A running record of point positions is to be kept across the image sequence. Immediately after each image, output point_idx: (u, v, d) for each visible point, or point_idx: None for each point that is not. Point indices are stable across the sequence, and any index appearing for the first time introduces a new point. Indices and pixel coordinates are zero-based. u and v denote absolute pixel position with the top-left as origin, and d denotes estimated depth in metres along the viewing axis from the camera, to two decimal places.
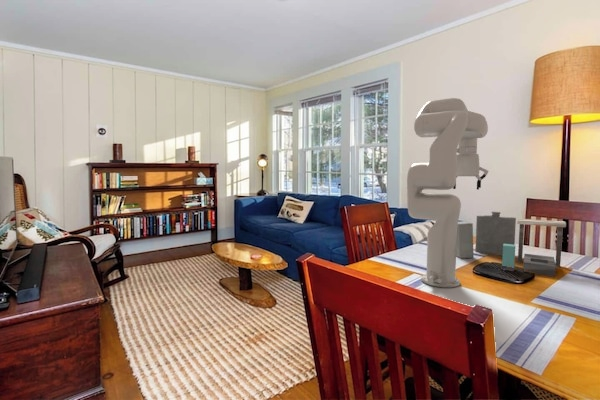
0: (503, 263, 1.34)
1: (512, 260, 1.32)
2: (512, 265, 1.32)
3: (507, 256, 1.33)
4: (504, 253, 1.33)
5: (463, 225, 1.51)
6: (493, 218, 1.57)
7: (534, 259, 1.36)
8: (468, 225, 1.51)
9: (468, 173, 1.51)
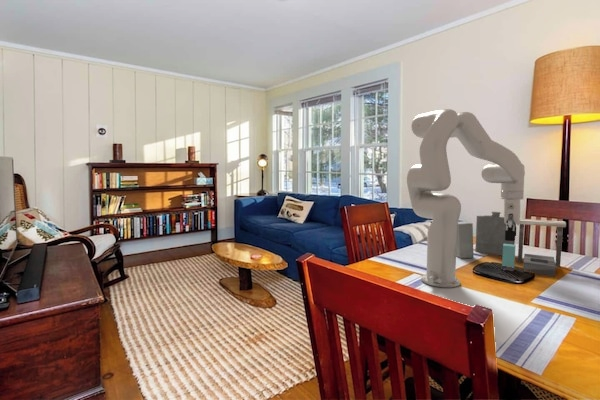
0: (503, 263, 1.34)
1: (512, 260, 1.32)
2: (512, 265, 1.32)
3: (507, 256, 1.33)
4: (504, 253, 1.33)
5: (463, 225, 1.51)
6: (493, 218, 1.57)
7: (534, 259, 1.36)
8: (468, 225, 1.51)
9: None
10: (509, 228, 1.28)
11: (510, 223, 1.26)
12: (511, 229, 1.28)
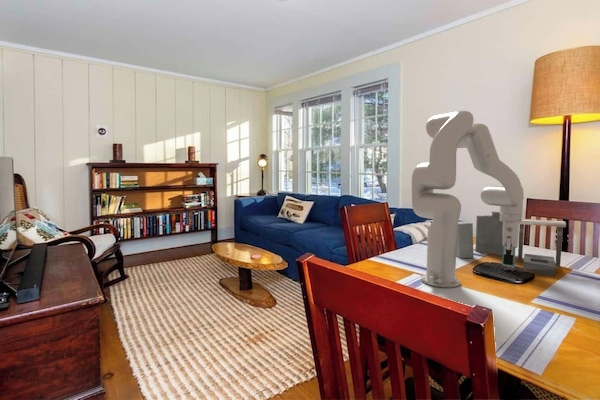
0: None
1: None
2: (512, 265, 1.32)
3: None
4: None
5: (463, 225, 1.51)
6: (493, 218, 1.57)
7: (534, 259, 1.36)
8: (468, 225, 1.51)
9: None
10: (507, 252, 1.30)
11: (508, 250, 1.29)
12: (509, 253, 1.30)
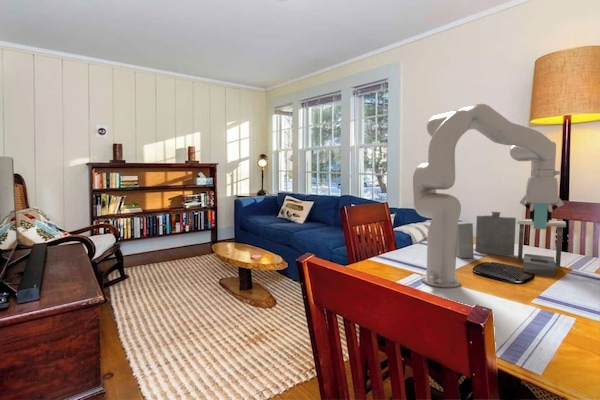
0: (546, 221, 1.29)
1: None
2: None
3: (546, 213, 1.30)
4: None
5: (463, 225, 1.51)
6: (493, 218, 1.57)
7: (534, 259, 1.36)
8: (468, 225, 1.51)
9: None
10: (554, 209, 1.28)
11: (561, 205, 1.27)
12: (553, 209, 1.29)
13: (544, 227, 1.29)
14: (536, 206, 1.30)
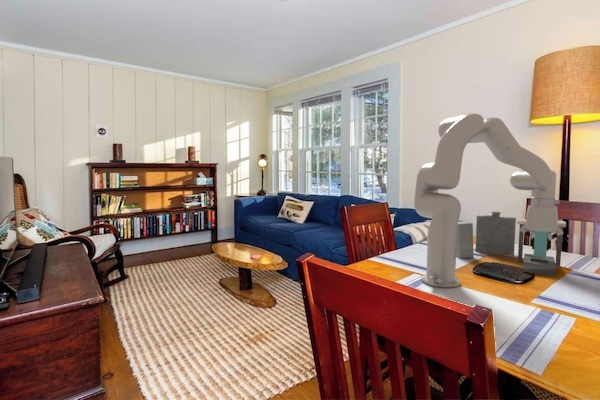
0: (546, 250, 1.30)
1: None
2: None
3: (546, 242, 1.31)
4: None
5: (463, 225, 1.51)
6: (493, 218, 1.57)
7: (534, 259, 1.36)
8: (468, 225, 1.51)
9: None
10: None
11: None
12: None
13: (544, 255, 1.30)
14: (536, 234, 1.31)
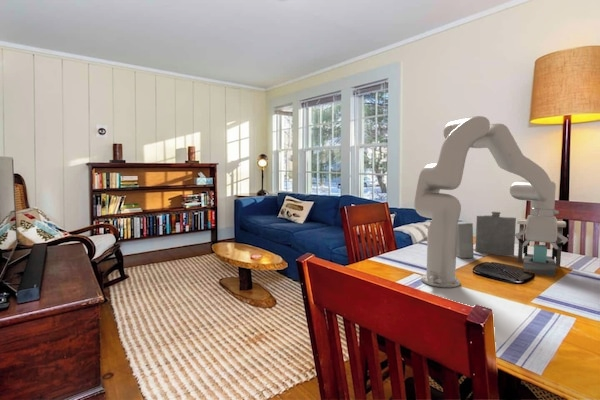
0: None
1: None
2: None
3: None
4: (546, 254, 1.30)
5: (463, 225, 1.51)
6: (493, 218, 1.57)
7: None
8: (468, 225, 1.51)
9: None
10: None
11: None
12: None
13: None
14: (536, 249, 1.31)
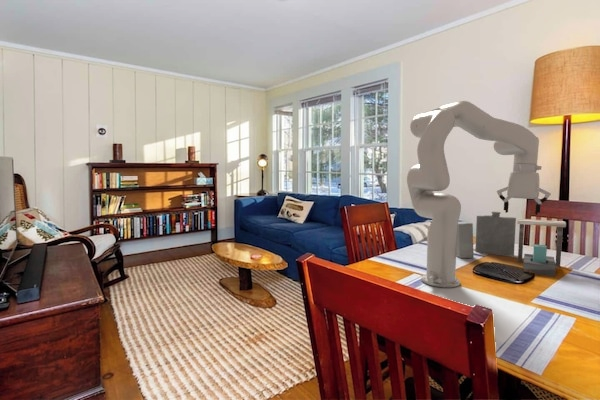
0: None
1: None
2: None
3: (545, 257, 1.31)
4: None
5: (463, 225, 1.51)
6: (493, 218, 1.57)
7: None
8: (469, 225, 1.51)
9: None
10: (544, 201, 1.26)
11: None
12: (542, 202, 1.27)
13: None
14: (535, 249, 1.31)
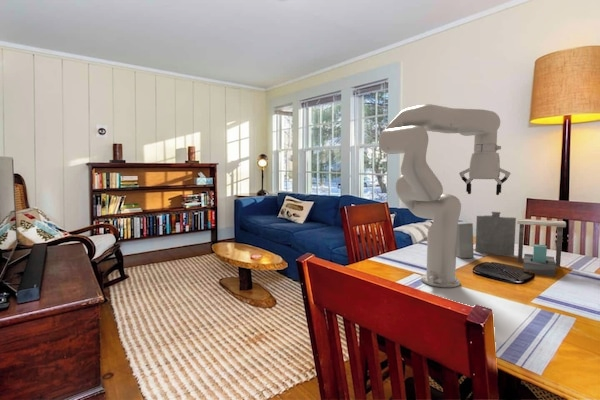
0: None
1: None
2: None
3: (545, 257, 1.31)
4: None
5: (463, 225, 1.51)
6: (493, 218, 1.57)
7: None
8: (468, 225, 1.51)
9: None
10: (504, 181, 1.26)
11: (509, 175, 1.25)
12: None
13: None
14: (535, 249, 1.31)
